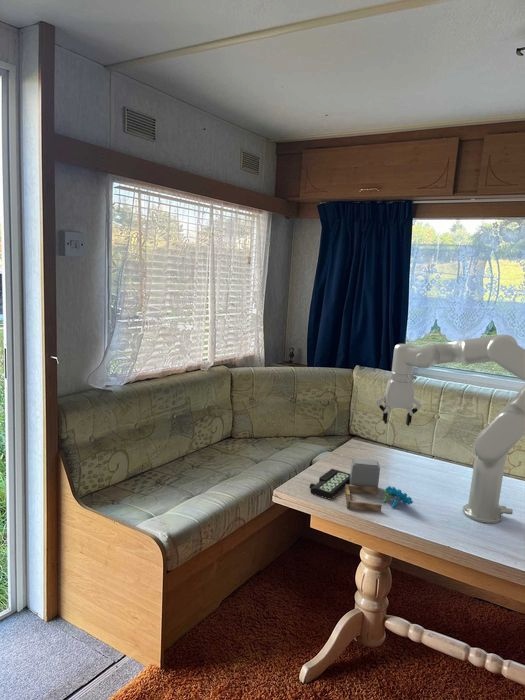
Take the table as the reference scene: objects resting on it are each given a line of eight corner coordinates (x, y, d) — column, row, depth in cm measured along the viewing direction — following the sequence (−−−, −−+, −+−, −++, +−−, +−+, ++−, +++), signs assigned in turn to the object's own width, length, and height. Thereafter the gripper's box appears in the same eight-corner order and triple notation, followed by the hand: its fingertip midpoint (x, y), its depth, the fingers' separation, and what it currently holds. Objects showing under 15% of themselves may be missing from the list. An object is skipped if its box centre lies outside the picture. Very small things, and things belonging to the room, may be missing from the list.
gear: (418, 504, 182) (405, 488, 177) (410, 518, 179) (397, 503, 175) (393, 496, 190) (380, 481, 186) (385, 509, 188) (372, 494, 184)
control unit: (375, 485, 199) (378, 459, 197) (377, 493, 192) (380, 466, 190) (349, 482, 200) (351, 456, 198) (350, 490, 193) (352, 463, 191)
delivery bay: (376, 493, 192) (376, 486, 191) (380, 512, 178) (381, 504, 177) (344, 490, 193) (345, 483, 192) (347, 508, 179) (347, 500, 178)
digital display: (330, 466, 207) (353, 474, 202) (329, 474, 208) (352, 481, 203) (306, 484, 189) (331, 492, 184) (305, 492, 190) (330, 500, 185)
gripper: (423, 377, 192) (418, 422, 195) (376, 373, 194) (371, 418, 197) (427, 382, 185) (422, 429, 188) (378, 377, 187) (373, 424, 190)
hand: (396, 423), depth 193 cm, fingers open, 7 cm apart
